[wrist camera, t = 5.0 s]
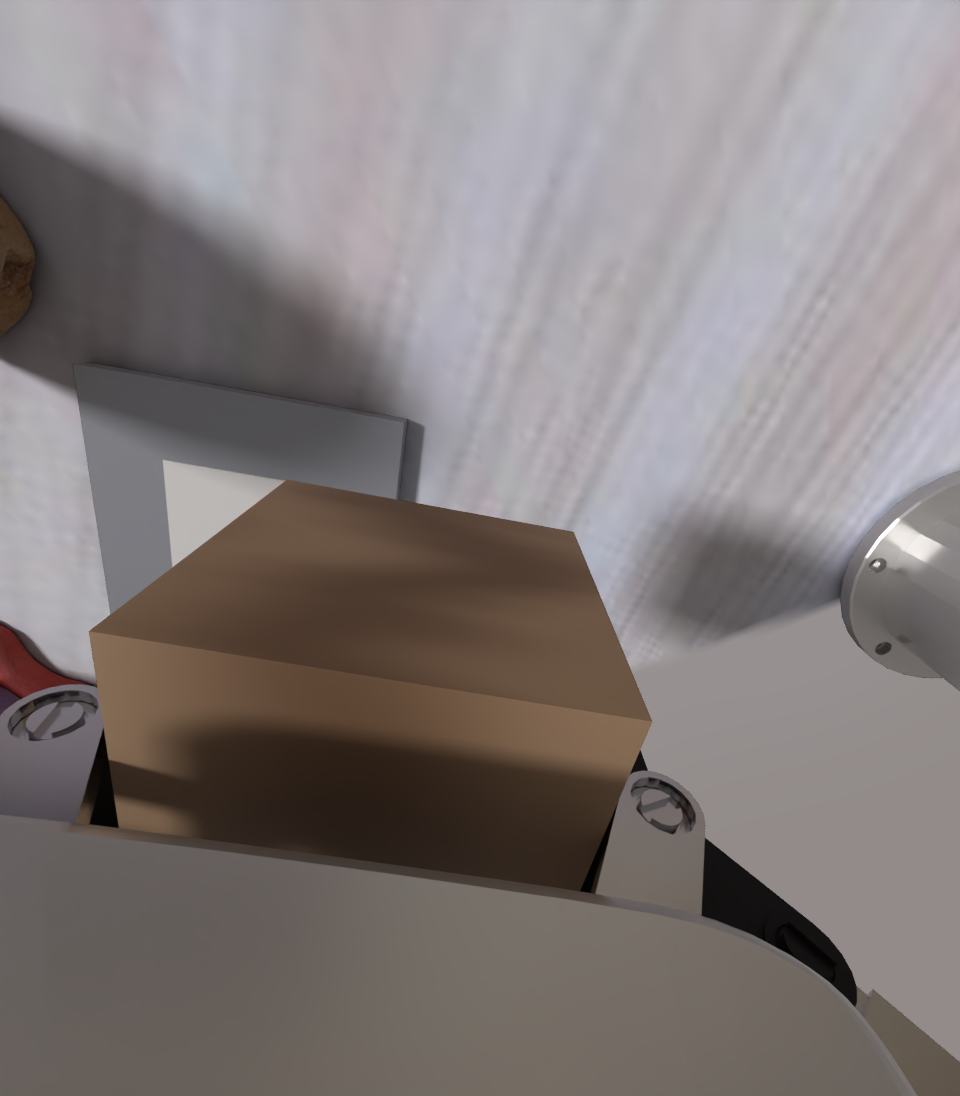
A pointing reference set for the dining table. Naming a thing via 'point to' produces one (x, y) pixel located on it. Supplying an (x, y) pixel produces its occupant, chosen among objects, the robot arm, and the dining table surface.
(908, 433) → the dining table surface
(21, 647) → the stacking bear
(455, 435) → the dining table surface
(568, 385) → the dining table surface
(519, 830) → the walnut cube
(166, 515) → the plate
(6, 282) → the brown rounded lumpy part
